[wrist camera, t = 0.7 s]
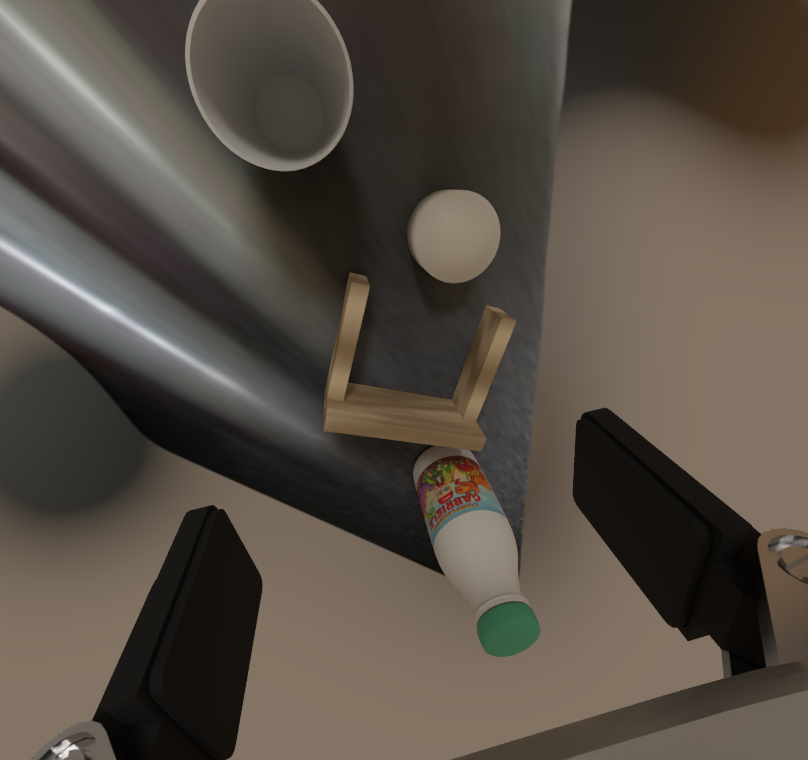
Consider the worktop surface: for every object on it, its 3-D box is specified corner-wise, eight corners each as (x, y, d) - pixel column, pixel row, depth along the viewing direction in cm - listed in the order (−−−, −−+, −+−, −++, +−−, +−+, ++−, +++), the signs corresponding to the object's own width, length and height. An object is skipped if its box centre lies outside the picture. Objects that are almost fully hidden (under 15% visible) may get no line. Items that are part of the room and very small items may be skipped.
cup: (220, 144, 28) (170, 125, 20) (248, 15, 26) (205, -75, 17) (326, 193, 31) (323, 196, 22) (362, 81, 28) (376, 34, 19)
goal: (349, 272, 34) (353, 291, 28) (499, 308, 38) (531, 332, 32) (324, 392, 39) (323, 430, 33) (459, 413, 43) (481, 451, 37)
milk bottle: (487, 460, 47) (581, 626, 29) (443, 500, 48) (507, 680, 31) (443, 428, 43) (519, 594, 26) (398, 473, 45) (441, 656, 28)
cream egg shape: (419, 178, 32) (430, 177, 28) (494, 202, 34) (513, 204, 30) (397, 263, 35) (404, 272, 31) (468, 281, 36) (482, 291, 33)
